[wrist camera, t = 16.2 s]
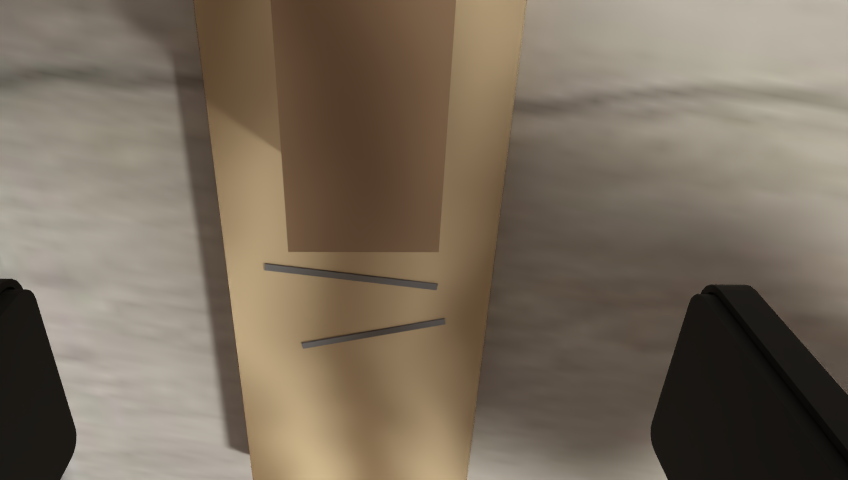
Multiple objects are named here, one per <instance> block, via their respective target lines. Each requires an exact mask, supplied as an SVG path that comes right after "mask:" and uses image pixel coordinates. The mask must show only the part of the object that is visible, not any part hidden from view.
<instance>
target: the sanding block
mask: <svg viewBox="0 0 848 480" xmlns="http://www.w3.org/2000/svg"><path fill="white" fill-rule="evenodd" d="M455 9H456V0H271V14H272V29H273V43H274V57H275V71H276V86H277V100H278V114H279V128H280V143H281V157H282V171H283V185H284V200H285V214H286V228H287V242H288V252H439V241H440V227H441V212H442V198H443V183H444V169H445V154H446V140H447V125H448V111H449V96H450V82H451V67H452V53H453V38H454V24H455Z"/></svg>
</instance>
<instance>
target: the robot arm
mask: <svg viewBox="0 0 848 480" xmlns="http://www.w3.org/2000/svg"><path fill="white" fill-rule="evenodd" d="M651 441H652V445H653V448H654V451H655V453H656V455H657V457H658V459H659V462H660V464H661V466H662V468H663V470H664V472H665V474H666V477H667V479H668V480H848V395H847V394H846V393H845V392H844V390H843V389H842V388H841V387H840V386H839V385H838V384H837V383H836V381H835V380H834V379H833V378H832V377H831V376H830V375H829V373H828V372H827V371H826V370H825V369H824V368H823V367H822V365H821V364H820V363H819V362H818V361H817V360H816V359H815V357H814V356H813V355H812V354H811V353H810V352H809V351H808V349H807V348H806V347H805V346H804V345H803V344H802V343H801V341H800V340H799V339H798V338H797V337H796V336H795V335H794V333H793V332H792V331H791V330H790V329H789V328H788V327H787V326H786V324H785V323H784V322H783V321H782V320H781V319H780V318H779V316H778V315H777V314H776V313H775V312H774V311H773V310H772V308H771V307H770V306H769V305H768V304H767V303H766V302H765V300H764V299H763V298H762V297H761V296H760V295H759V294H758V292H757V291H756V290H755V289H753V288H752V287H751V286H748V285H708V286H706V287H705V288H704V289H703V290H702V293H701V294H697V295H694V296H693V297H692V298H691V300H690V303H689V306H688V309H687V312H686V315H685V318H684V322H683V325H682V328H681V331H680V334H679V338H678V341H677V344H676V347H675V350H674V354H673V357H672V360H671V363H670V366H669V370H668V373H667V376H666V379H665V382H664V386H663V389H662V392H661V395H660V398H659V402H658V405H657V408H656V411H655V414H654V418H653V421H652V425H651ZM75 446H76V429H75V425H74V422H73V419H72V416H71V412H70V409H69V406H68V402H67V399H66V396H65V393H64V389H63V386H62V383H61V379H60V376H59V373H58V370H57V366H56V363H55V360H54V356H53V353H52V350H51V347H50V343H49V340H48V337H47V333H46V330H45V327H44V324H43V320H42V317H41V314H40V310H39V307H38V304H37V301H36V298H35V296H34V294H33V293H32V292H31V291H30V290H26V289H23V288H22V286H21V285H20V284H19V283H18V282H17V281H16V280H13V279H0V480H60V479H61V477H62V475H63V473H64V471H65V470H66V468H67V466H68V464H69V462H70V460H71V458H72V455H73V453H74V450H75Z"/></svg>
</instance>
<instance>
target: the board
mask: <svg viewBox="0 0 848 480" xmlns="http://www.w3.org/2000/svg"><path fill="white" fill-rule="evenodd" d="M193 1H194V9H195V17H196V25H197V33H198V41H199V49H200V57H201V65H202V73H203V82H204V90H205V98H206V106H207V114H208V122H209V130H210V138H211V146H212V154H213V162H214V170H215V178H216V186H217V194H218V202H219V210H220V218H221V226H222V234H223V242H224V250H225V259H226V267H227V275H228V283H229V291H230V299H231V307H232V315H233V323H234V331H235V339H236V347H237V355H238V363H239V371H240V379H241V387H242V395H243V403H244V411H245V419H246V428H247V436H248V444H249V452H250V460H251V468H252V476H253V480H467V473H468V465H469V458H470V450H471V442H472V434H473V426H474V418H475V410H476V402H477V394H478V386H479V378H480V370H481V362H482V354H483V346H484V338H485V330H486V322H487V314H488V306H489V298H490V290H491V282H492V275H493V267H494V259H495V251H496V243H497V235H498V227H499V219H500V211H501V203H502V195H503V187H504V179H505V171H506V163H507V155H508V147H509V139H510V131H511V123H512V115H513V107H514V99H515V91H516V84H517V76H518V68H519V60H520V52H521V44H522V36H523V28H524V20H525V12H526V4H527V0H456V9H455V24H454V38H453V53H452V67H451V82H450V96H449V111H448V125H447V140H446V154H445V169H444V183H443V198H442V212H441V227H440V241H439V252H288V242H287V228H286V214H285V200H284V185H283V171H282V157H281V143H280V128H279V114H278V100H277V86H276V71H275V57H274V43H273V29H272V14H271V0H193Z"/></svg>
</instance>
